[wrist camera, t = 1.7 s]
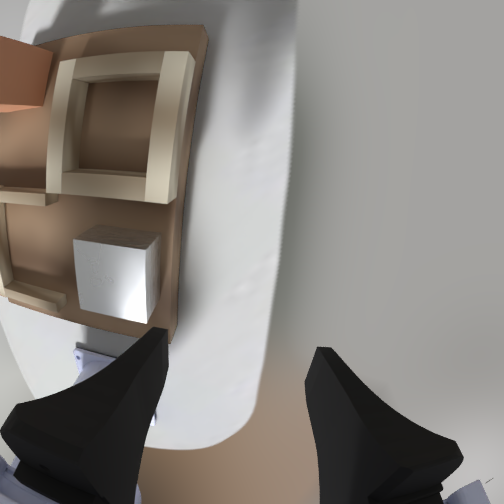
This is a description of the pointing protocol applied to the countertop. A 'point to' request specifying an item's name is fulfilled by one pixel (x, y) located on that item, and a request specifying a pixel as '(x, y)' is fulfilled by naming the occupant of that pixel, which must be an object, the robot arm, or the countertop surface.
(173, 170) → the collar
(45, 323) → the countertop surface
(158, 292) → the block
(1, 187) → the wooden compartment tray
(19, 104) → the terracotta rectangular block
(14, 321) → the countertop surface
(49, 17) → the countertop surface
